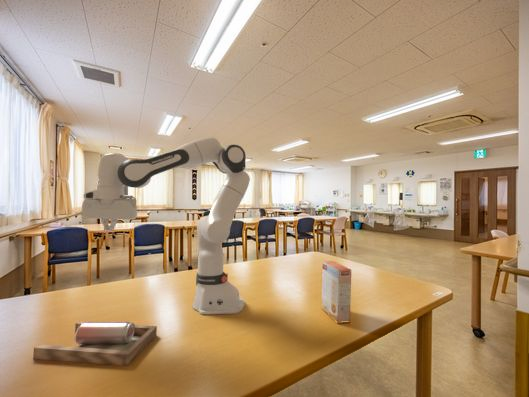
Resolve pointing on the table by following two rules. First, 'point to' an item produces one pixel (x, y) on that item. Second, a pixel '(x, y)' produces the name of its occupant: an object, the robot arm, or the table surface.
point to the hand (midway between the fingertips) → (108, 230)
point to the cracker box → (336, 290)
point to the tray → (100, 349)
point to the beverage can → (104, 333)
